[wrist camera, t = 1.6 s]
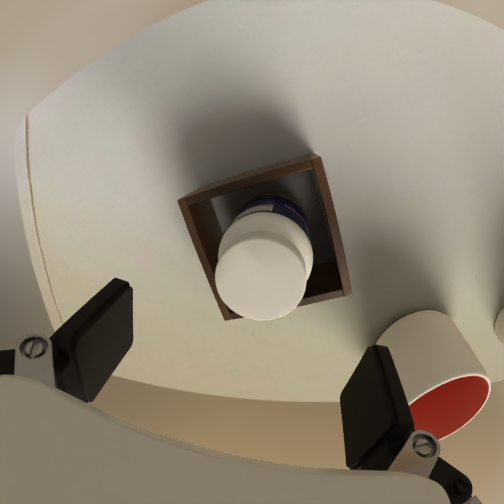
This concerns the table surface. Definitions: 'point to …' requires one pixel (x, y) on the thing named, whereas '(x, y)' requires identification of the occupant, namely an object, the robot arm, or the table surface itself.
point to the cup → (436, 371)
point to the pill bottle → (265, 258)
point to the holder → (210, 235)
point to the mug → (500, 326)
